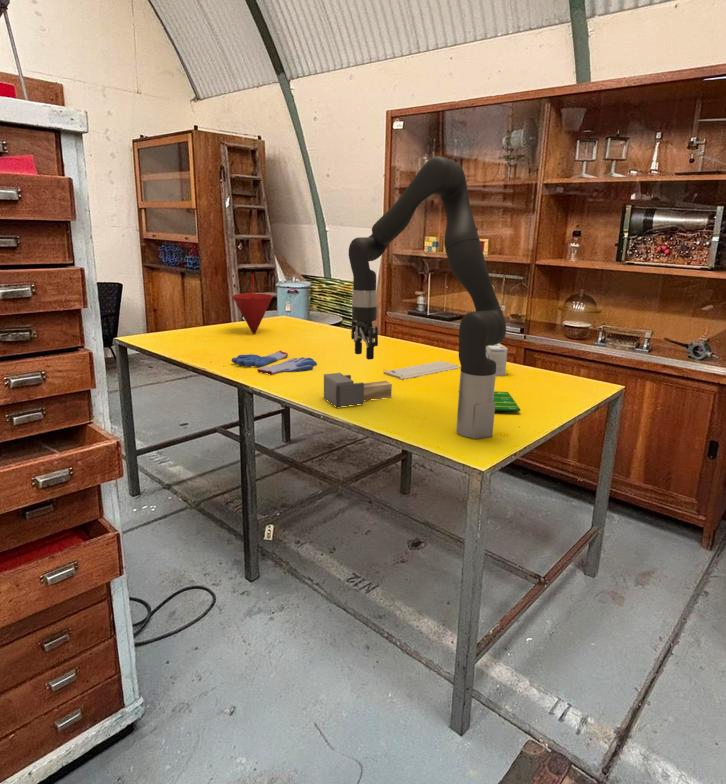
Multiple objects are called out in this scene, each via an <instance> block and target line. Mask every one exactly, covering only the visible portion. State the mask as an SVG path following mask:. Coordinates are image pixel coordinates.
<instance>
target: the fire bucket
mask: <svg viewBox="0 0 726 784" xmlns="http://www.w3.org/2000/svg"><path fill="white" fill-rule="evenodd" d="M254 278H255V277H254V273H252V275H251V279H250V280H251V281H250V283H252V285H250V288H249V291H248V293H238V294H234V295H232V296H231V297H232V299H233V300H234V302H235V304H236V306H237V307H238V311H239V312H240V313H241V315H242V318H244V322H246V324H247V326H248V328H249V329H250V331H251V333H252V335H256V333H257V331H258V329H259V327H260V325H261V323H262V320H263V318H264V316H265V314H266V313H267V309H268V308H269V305H270V303H271V301H272V299H273V298H274V295H272V294H267V293H253V291H251V290H254V285H255V284H254V283H255V281H254V280H255V279H254Z"/></svg>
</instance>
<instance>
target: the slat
mask: <svg viewBox="0 0 726 784" xmlns="http://www.w3.org/2000/svg"><path fill="white" fill-rule="evenodd" d="M363 383H364V400H371V399H379V400H383V399H382V398H387V399H392V390H393V389H392V388H393V387H392V385H393V383H391V382H389V381H387V380H382V381H375V382H374V381H372V382H363ZM371 401H372V400H371Z"/></svg>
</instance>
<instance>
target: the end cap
mask: <svg viewBox="0 0 726 784" xmlns="http://www.w3.org/2000/svg"><path fill="white" fill-rule="evenodd" d="M364 383H365V382H356V383H355V381H354V380H352V375H351V374H342V373H341V372H334V373H325V374H324V373H323V399H324V398H325V399H326V400H325V399H324V400H325V401H327V400H328V401H329V402H330V403H329V402H328V401H327V402H328V403H329V404H331V403H332V404H333V405H335V406H336V407H341V406H349V405H357V404H365V401H364ZM332 404H331V405H332ZM333 405H332V406H333ZM335 406H334V407H335ZM336 407H335V408H336Z"/></svg>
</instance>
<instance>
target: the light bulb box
mask: <svg viewBox="0 0 726 784" xmlns="http://www.w3.org/2000/svg"><path fill="white" fill-rule="evenodd" d="M508 349H509V348H507V347H506V346H505V345H503V344H501V343H499V344H496V345H490V346H486V357H487V358H488V359H491V360H493V361H495V362H496V377H505V376H506V368H507V360H508Z"/></svg>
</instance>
